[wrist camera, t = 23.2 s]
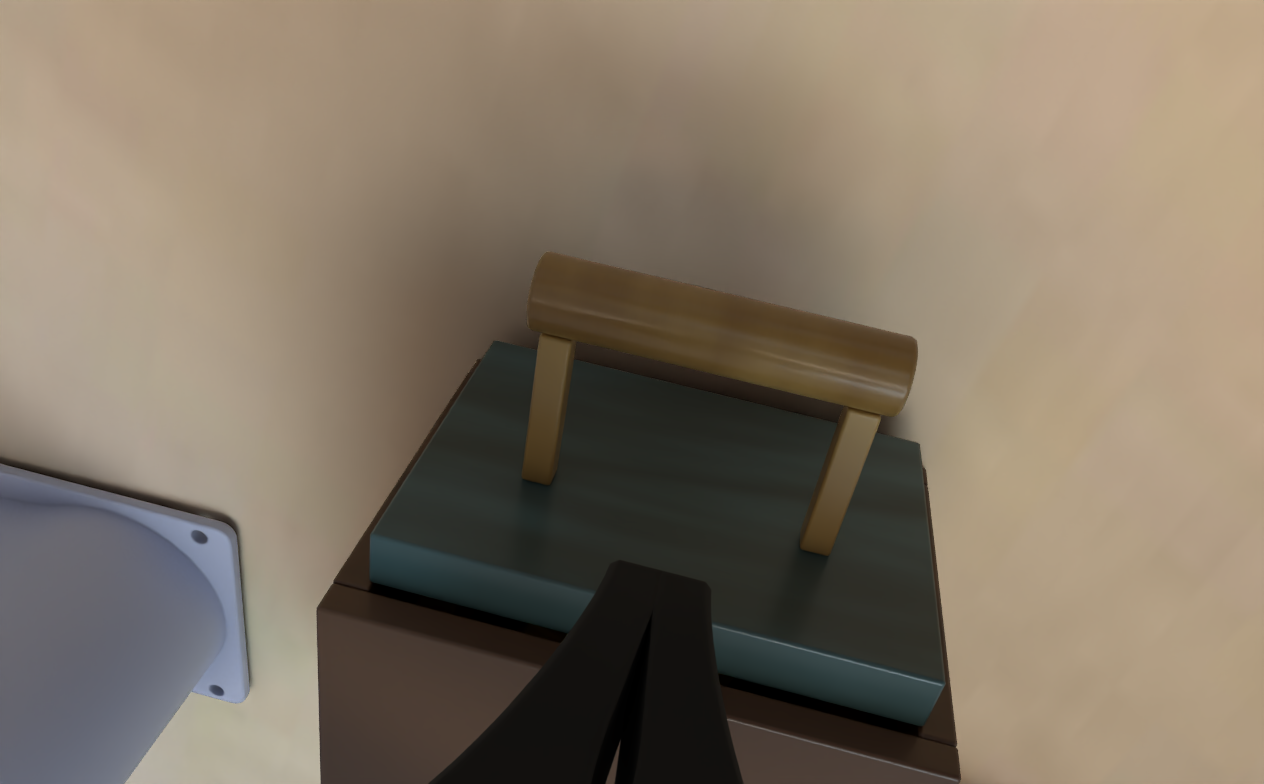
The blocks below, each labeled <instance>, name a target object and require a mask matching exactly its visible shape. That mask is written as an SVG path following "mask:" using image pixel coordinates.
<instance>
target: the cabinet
mask: <svg viewBox="0 0 1264 784" xmlns="http://www.w3.org/2000/svg"><path fill="white" fill-rule="evenodd" d="M480 362H481V359H479V360H477V361H476V362H475V364H474V366H473V367H472V369H471V370H470V372H469V373H468V374H467V375H466V377H465V378H464V380H463V382H462V383H461V385H460V386H459V388H458V389H457V391H456V392H455V394H454V395H453V397H452V399H451V400H450V402H449V403H448V405H447V406H446V408H445V409H444V411H443V412H442V414H441V416H440V417H439V419H438V420H437V422H436V423H435V425H434V426H433V428H432V429H431V431H430V433H429V434H428V436H427V437H426V439H425V440H424V442H423V443H422V445H421V446H420V448H419V450H418V451H417V453H416V454H415V456H414V457H413V459H412V460H411V462H410V463H409V465H408V466H407V468H406V470H405V471H404V473H403V474H402V476H401V477H400V479H399V480H398V482H397V483H396V485H395V487H394V488H393V490H392V491H391V493H390V494H389V496H388V497H387V499H386V500H385V502H384V504H383V505H382V507H381V508H380V510H379V511H378V513H377V514H376V516H375V517H374V519H373V521H372V522H371V524H370V525H369V527H368V528H367V530H366V531H365V533H364V534H363V536H362V538H361V539H360V541H359V542H358V544H357V545H356V547H355V548H354V550H353V551H352V553H351V555H350V556H349V558H348V559H347V561H346V562H345V564H344V565H343V567H342V568H341V570H340V572H339V573H338V575H337V576H336V578H335V579H334V584H332V585H331V587H330V588H329V590H328V591H327V593H326V594H325V596H324V597H323V599H322V601H321V602H320V604H319V605H318V607H317V648H318V690H319V731H320V772H321V784H428V783H429V782H431V781H432V780H433V779H434V778H435V777H436V776H437V775H438V774H440V773H441V772H442V771H443V770H444V769H445V768H446V767H447V766H449V765H450V764H451V763H452V762H453V761H454V760H455V759H456V758H457V757H458V756H459V755H461V754H462V753H463V752H464V751H465V750H466V749H467V748H468V747H469V746H470V745H471V744H472V743H473V742H474V741H475V740H476V739H477V738H478V737H479V736H480V735H481V734H482V733H483V732H484V731H485V730H486V729H487V728H488V727H489V726H490V725H491V724H492V723H493V722H494V721H495V720H496V719H497V718H498V717H499V716H500V714H501V713H502V712H503V711H504V710H505V709H506V708H507V707H508V706H509V705H510V703H511V702H512V701H513V700H514V699H515V698H516V697H517V695H518V694H519V693H520V692H521V691H522V690H523V689H524V688H525V686H526V685H527V684H528V683H529V682H530V681H531V680H532V678H533V677H534V676H535V675H536V674H537V673H538V671H539V670H540V669H541V668H542V667H543V665H544V664H545V663H546V662H547V660H548V659H549V658H550V656H551V655H552V654H553V653H554V651H555V650H556V649H557V647H558V646H559V645H560V642H556V641H552V640H548V639H545V638H541V637H537V636H533V635H529V634H526V633H522V632H518V631H514V630H511V629H507V628H503V627H499V626H495V625H492V624H488V623H484V622H480V621H476V620H473V619H469V618H465V617H461V616H457V615H454V614H450V613H446V612H442V611H439V610H435V609H431V608H427V607H423V606H420V605H416V604H415V603H416V602H417V600H418V598H419V596H420V595H418V594H415V593H411V592H407V591H403V590H399V589H396V588H392V587H388V586H384V585H380V584H377V583H373V582H371V581H370V580H369V566H370V534H371V532H372V531H373V529H374V528H375V526H376V525H377V523H378V521H379V520H380V518H381V517H382V515H383V514H384V512H385V510H386V509H387V507H388V506H389V504H390V503H391V501H392V499H393V498H394V496H395V495H396V493H397V492H398V490H399V489H400V487H401V485H402V484H403V482H404V481H405V479H406V478H407V476H408V474H409V473H410V471H411V470H412V468H413V467H414V465H415V463H416V462H417V460H418V459H419V457H420V456H421V454H422V453H423V451H424V449H425V448H426V446H427V445H428V443H429V442H430V440H431V438H432V437H433V435H434V434H435V432H436V431H437V429H438V427H439V426H440V424H441V423H442V421H443V420H444V418H445V416H446V415H447V413H448V412H449V410H450V409H451V407H452V406H453V404H454V402H455V401H456V399H457V398H458V396H459V395H460V393H461V391H462V390H463V388H464V387H465V385H466V384H467V382H468V380H469V379H470V377H471V376H472V374H473V373H474V371H475V370H476V368H477V366H478V365H479V363H480ZM922 470H923V479H924V489H925V498H926V507H927V516H928V526H929V535H930V544H931V553H932V563H933V572H934V581H935V590H936V600H937V609H938V618H939V627H940V637H941V646H942V655H943V664H944V674H945V683H946V684H945V686H944V688H943V690H942V692H941V694H940V696H939V698H938V700H937V702H936V704H935V705H934V707H933V709H932V711H931V713H930V715H929V717H928V719H927V721H926V723H925V725H924V726H917V725H913V724H909V723H905V722H901V721H897V720H894V719H890V718H886V717H882V716H878V715H875V714H871V713H867V717H868V724H867V723H863V722H859V721H855V720H852V719H848V718H844V717H840V716H836V715H833V714H829V713H825V712H821V711H818V710H814V709H810V708H806V707H802V706H799V705H795V704H791V703H787V702H783V701H780V700H776V699H772V698H768V697H764V696H761V695H757V694H753V693H749V692H746V691H742V690H738V689H734V688H730V687H727V686H723V685H720V687H721V692H722V697H723V701H724V706H725V711H726V716H727V721H728V725H729V730H730V734H731V738H732V742H733V746H734V750H735V754H736V757H737V761H738V765H739V768H740V772H741V776H742V779H743V783H744V784H959V783H960V780H961V774H960V765H959V756H958V750H957V748H956V746H957V740H956V731H955V722H954V713H953V704H952V695H951V687H950V678H949V669H948V660H947V651H946V642H945V634H944V625H943V616H942V607H941V598H940V589H939V581H938V572H937V563H936V554H935V545H934V536H933V528H932V519H931V510H930V501H929V492H928V487H927V485H928V484H927V475H926V469H924V468H922ZM620 741H621V740H620ZM619 748H620V743H619V746H618V749H617V752H616V755H615V757H614V760H613V763H612V766H611V769H610V772H609V775H608V778H607V781H606V784H614V783H615V776H616V769H617V762H618V755H619Z"/></svg>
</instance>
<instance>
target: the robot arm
mask: <svg viewBox="0 0 1264 784" xmlns="http://www.w3.org/2000/svg"><path fill="white" fill-rule="evenodd" d="M202 532H203V533H202ZM711 591H712V590H711V589H710V587H709V586H708V584H707V583H706V582H705V581H701V580H697V579H693V578H689V577H685V576H681V575H678V574H674V573H670V572H666V571H662V570H658V569H654V568H650V567H646V566H642V565H639V564H635V563H631V562H627V561H623V560H617V561H615V562H613V563H610V565H609V567H608V569H607V572H606V574H605V576H604V578H603V580H602V582H601V583H600V585H599V587H598V589H597V591H596V592H595V594H594V596H593V597H592V599H591V601H590V602H589V604H588V605H587V607H586V608H585V610H584V611H583V613H582V614H581V616H580V617H579V619H578V620H577V622H576V623H575V625H574V626H573V627H572V629H571V630H570V632H569V633H568V634H567V635H566V637H565V638H564V639H563V641H562V642H561V643H560V645H559V646H558V647H557V649H556V650H555V651H554V653H553V654H552V655H551V656H550V658H549V659H548V660H547V662H546V663H545V664H544V665H543V667H542V668H541V669H540V670H539V671H538V673H537V674H536V675H535V676H534V677H533V678H532V680H531V681H530V682H529V683H528V684H527V685H526V686H525V688H524V689H523V690H522V691H521V692H520V693H519V694H518V695H517V697H516V698H515V699H514V700H513V701H512V702H511V703H510V705H509V706H508V707H507V708H506V709H505V710H504V711H503V712H502V713H501V714H500V716H499V717H498V718H497V719H496V720H495V721H494V722H493V723H492V724H491V725H490V726H489V727H488V728H487V729H486V730H485V731H484V732H483V733H482V734H481V735H480V736H479V737H478V738H477V739H476V740H475V741H474V742H473V743H472V744H471V745H470V746H469V747H468V748H467V749H466V750H465V751H464V752H463V753H462V754H461V755H459V756H458V757H457V758H456V759H455V760H454V761H453V762H452V763H451V764H450V765H449V766H447V767H446V768H445V769H444V770H443V771H442V772H441V773H440V774H438V775H437V776H436V777H435V778H434V779H433V780H432V781H431V782H429V783H428V784H606V781H607V778H608V775H609V772H610V769H611V766H612V763H613V760H614V757H615V755H616V752H617V749H618V746H619V743H620V748H619V755H618V762H617V769H616V776H615V783H614V784H744V783H743V779H742V776H741V772H740V768H739V765H738V761H737V757H736V754H735V750H734V746H733V742H732V738H731V734H730V730H729V725H728V721H727V716H726V711H725V706H724V701H723V697H722V692H721V687H720V682H719V676H718V670H717V664H716V656H715V649H714V641H713V631H712V618H711ZM249 691H250V686H249V674H248V662H247V650H246V638H245V626H244V614H243V602H242V591H241V579H240V567H239V555H238V543H237V536H236V533H235V531H234V530H233V529H232V527H230V526H229V525H228V524H226V523H224V522H221V521H218V520H214V519H210V518H206V517H202V516H198V515H195V514H191V513H187V512H183V511H179V510H175V509H172V508H168V507H164V506H160V505H156V504H153V503H149V502H145V501H141V500H137V499H133V498H130V497H126V496H122V495H118V494H114V493H110V492H107V491H103V490H99V489H95V488H91V487H88V486H84V485H80V484H76V483H72V482H68V481H65V480H61V479H57V478H53V477H49V476H45V475H42V474H38V473H34V472H30V471H26V470H23V469H19V468H15V467H11V466H7V465H3V464H0V784H125V782H126V781H127V779H128V778H129V777H130V775H131V774H132V773H133V771H134V770H135V768H136V767H137V766H138V764H139V763H140V761H141V760H142V759H143V757H144V756H145V755H146V753H147V752H148V750H149V749H150V748H151V746H152V745H153V744H154V742H155V741H156V739H157V738H158V737H159V735H160V734H161V733H162V731H163V730H164V728H165V727H166V726H167V724H168V723H169V722H170V720H171V719H172V717H173V716H174V715H175V713H176V712H177V710H178V709H179V708H180V706H181V705H182V704H183V702H184V701H185V699H186V698H187V697H188V695H189V694H190V693H191V692H194V693H198V694H201V695H205V696H209V697H212V698H216V699H220V700H223V701H227V702H231V703H241V702H243V701H244V700H245V699H246V697H247V696H248V694H249ZM620 740H621V741H620Z"/></svg>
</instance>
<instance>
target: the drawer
mask: <svg viewBox="0 0 1264 784" xmlns="http://www.w3.org/2000/svg"><path fill="white" fill-rule="evenodd" d="M526 320H527V326H528V328H530V329H531V330H533V331H537V332H541V335H540V336H539V343H538V350H534V349H530V348H526V347H522V346H518V345H514V344H510V343H505V342H501V341H497V340H495V341H493V343H492V344H491V346H490V348H489V349H488V351H487V352H486V354H485V355H484V357H483V359H482V360H481V362H480V363H479V365H478V366H477V368H476V370H475V371H474V373H473V374H472V376H471V377H470V379H469V380H468V382H467V384H466V385H465V387H464V388H463V390H462V391H461V393H460V395H459V396H458V398H457V399H456V401H455V402H454V404H453V406H452V407H451V409H450V410H449V412H448V413H447V415H446V416H445V418H444V420H443V421H442V423H441V424H440V426H439V427H438V429H437V431H436V432H435V434H434V435H433V437H432V438H431V440H430V442H429V443H428V445H427V446H426V448H425V449H424V451H423V453H422V454H421V456H420V457H419V459H418V460H417V462H416V463H415V465H414V467H413V468H412V470H411V471H410V473H409V474H408V476H407V478H406V479H405V481H404V482H403V484H402V485H401V487H400V489H399V490H398V492H397V493H396V495H395V496H394V498H393V499H392V501H391V503H390V504H389V506H388V507H387V509H386V510H385V512H384V514H383V515H382V517H381V518H380V520H379V521H378V523H377V525H376V526H375V528H374V529H373V531H372V532H371V534H370V566H369V580H370V581H371V582H373V583H377V584H380V585H384V586H388V587H392V588H396V589H399V590H403V591H407V592H411V593H415V594H418V595H420V596H419V598H418V600H417V602H416V603H415V604H416V605H420V606H423V607H427V608H431V609H435V610H439V611H442V612H446V613H450V614H454V615H457V616H461V617H465V618H469V619H473V620H476V621H480V622H484V623H488V624H492V625H495V626H499V627H503V628H507V629H511V630H514V631H517V629H518V626H519V624H520V621H521V622H525V623H529V624H533V625H536V626H540V627H544V628H548V629H552V630H555V631H559V632H563V633H567V634H568V633H569V632H570V630H571V629H572V627H573V626H574V625H575V623H576V622H577V620H578V619H579V617H580V616H581V614H582V613H583V611H584V610H585V608H586V607H587V605H588V604H589V602H590V601H591V599H592V597H593V596H594V594H595V592H596V591H597V589H598V587H599V585H600V583H601V582H602V580H603V578H604V576H605V574H606V572H607V569H608V567H609V565H610V563H613V562H615V561H617V560H623V561H627V562H631V563H635V564H639V565H642V566H646V567H650V568H654V569H658V570H662V571H666V572H670V573H674V574H678V575H681V576H685V577H689V578H693V579H697V580H701V581H705V582H706V583H707V584H708V586H709V587H710V589H711V590H712V591H711V618H712V631H713V641H714V649H715V656H716V664H717V670H718V673H719V674H723V675H726V676H730V677H734V679H733V680H732V681H731V682H730V684H729V685H728V686H727V687H730V688H734V689H738V690H742V691H746V692H749V693H753V694H757V695H761V696H764V697H768V698H772V699H776V700H780V701H783V702H787V703H791V704H795V705H799V706H802V707H806V708H810V709H814V710H818V711H821V712H825V713H829V714H833V715H836V716H840V717H844V718H848V719H852V720H855V721H859V722H863V723H867V724H868V717H867V713H871V714H875V715H878V716H882V717H886V718H890V719H894V720H897V721H901V722H905V723H909V724H913V725H917V726H924V725H925V723H926V721H927V719H928V717H929V715H930V713H931V711H932V709H933V707H934V705H935V704H936V702H937V700H938V698H939V696H940V694H941V692H942V690H943V688H944V686H945V684H946V683H945V674H944V664H943V655H942V646H941V637H940V627H939V618H938V609H937V600H936V590H935V581H934V572H933V563H932V553H931V544H930V535H929V526H928V516H927V507H926V498H925V489H924V479H923V470H922V461H921V452H920V444H919V443H917V442H913V441H909V440H905V439H901V438H897V437H892V436H888V435H884V434H880V433H876V431H877V429H878V426H879V423H880V421H881V415H885V416H889V417H894V416H897V415H898V414H899V413H900V411H901V410H902V408H903V407H904V405H905V403H906V400H907V398H908V395H909V393H910V390H911V387H912V383H913V379H914V375H915V371H916V366H917V358H918V346H917V341H916V339H914V338H913V337H911V336H907V335H902V334H898V333H894V332H890V331H885V330H881V329H877V328H873V327H868V326H864V325H860V324H856V323H851V322H847V321H843V320H839V319H834V318H830V317H826V316H822V315H817V314H813V313H809V312H805V311H800V310H796V309H792V308H788V307H783V306H779V305H775V304H771V303H766V302H762V301H758V300H754V299H750V298H745V297H741V296H737V295H733V294H728V293H724V292H720V291H716V290H711V289H707V288H703V287H699V286H694V285H690V284H686V283H682V282H677V281H673V280H669V279H665V278H660V277H656V276H652V275H648V274H643V273H639V272H635V271H631V270H626V269H622V268H618V267H614V266H609V265H605V264H601V263H597V262H592V261H588V260H584V259H580V258H575V257H571V256H567V255H563V254H558V253H554V252H545V253H544V254H543V255H542V257H541V258H540V260H539V262H538V264H537V266H536V269H535V272H534V275H533V278H532V282H531V286H530V290H529V295H528V301H527V309H526ZM577 341H578V342H583V343H587V344H591V345H595V346H599V347H603V348H607V349H612V350H616V351H620V352H624V353H628V354H632V355H636V356H640V357H645V358H649V359H653V360H657V361H661V362H665V363H669V364H674V365H678V366H682V367H686V368H690V369H694V370H698V371H703V372H707V373H711V374H715V375H719V376H723V377H727V378H732V379H736V380H740V381H744V382H748V383H752V384H756V385H761V386H765V387H769V388H773V389H777V390H781V391H785V392H790V393H794V394H798V395H802V396H806V397H810V398H814V399H819V400H823V401H827V402H831V403H835V404H839V405H843V409H842V412H841V415H840V418H839V421H838V423H835V422H831V421H827V420H822V419H818V418H814V417H810V416H806V415H802V414H798V413H794V412H790V411H785V410H781V409H777V408H773V407H769V406H765V405H761V404H757V403H752V402H748V401H744V400H740V399H736V398H732V397H728V396H724V395H720V394H715V393H711V392H707V391H703V390H699V389H695V388H691V387H687V386H683V385H678V384H674V383H670V382H666V381H662V380H658V379H654V378H650V377H645V376H641V375H637V374H633V373H629V372H625V371H621V370H617V369H613V368H608V367H604V366H600V365H596V364H592V363H588V362H584V361H580V360H575V359H574V356H575V350H576V343H577Z"/></svg>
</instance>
